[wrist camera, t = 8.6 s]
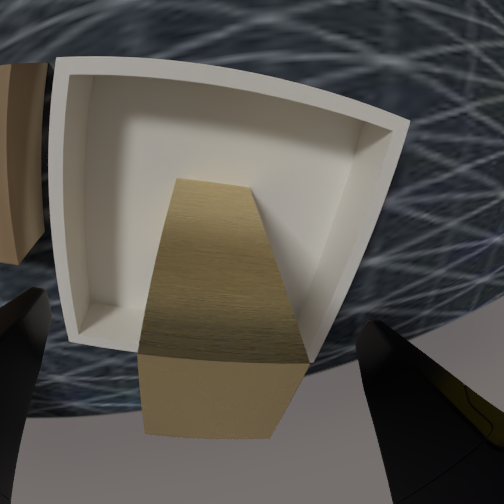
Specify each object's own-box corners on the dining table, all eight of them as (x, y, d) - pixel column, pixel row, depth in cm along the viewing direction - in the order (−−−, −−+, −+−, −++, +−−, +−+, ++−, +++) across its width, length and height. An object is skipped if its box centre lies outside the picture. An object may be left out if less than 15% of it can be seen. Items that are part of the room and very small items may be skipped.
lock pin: (169, 242, 14) (144, 433, 6) (176, 177, 13) (137, 353, 5) (236, 250, 15) (269, 438, 7) (249, 187, 13) (310, 363, 6)
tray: (84, 302, 16) (69, 341, 13) (87, 59, 10) (56, 57, 7) (299, 323, 18) (313, 362, 16) (373, 109, 12) (410, 120, 10)
